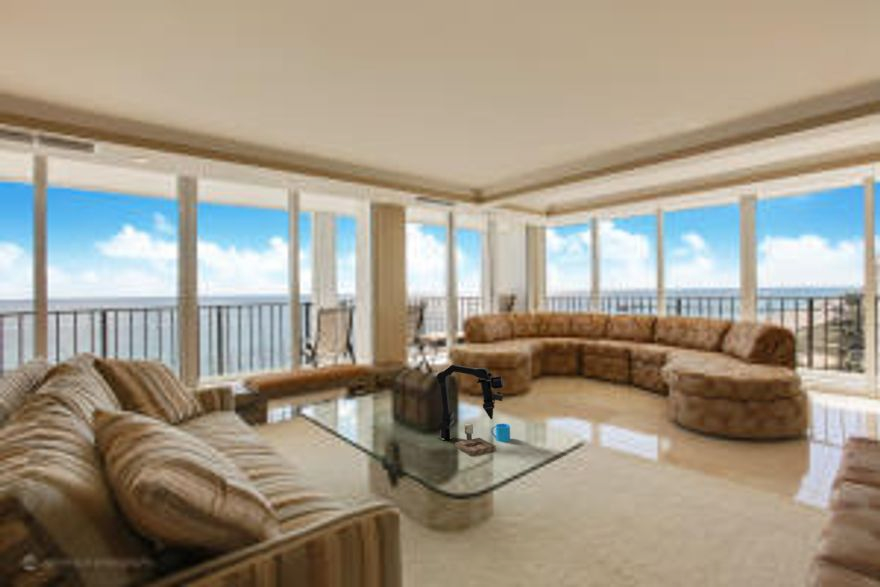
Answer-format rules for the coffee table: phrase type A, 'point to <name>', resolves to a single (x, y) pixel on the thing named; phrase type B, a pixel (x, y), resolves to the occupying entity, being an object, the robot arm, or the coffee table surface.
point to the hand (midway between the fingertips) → (491, 417)
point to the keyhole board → (475, 446)
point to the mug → (502, 432)
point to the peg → (469, 431)
